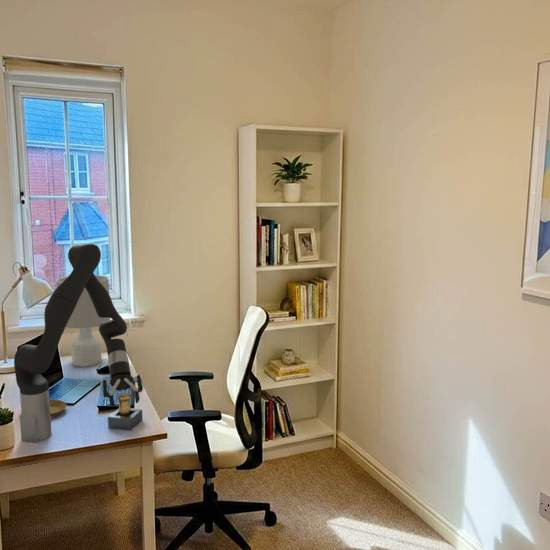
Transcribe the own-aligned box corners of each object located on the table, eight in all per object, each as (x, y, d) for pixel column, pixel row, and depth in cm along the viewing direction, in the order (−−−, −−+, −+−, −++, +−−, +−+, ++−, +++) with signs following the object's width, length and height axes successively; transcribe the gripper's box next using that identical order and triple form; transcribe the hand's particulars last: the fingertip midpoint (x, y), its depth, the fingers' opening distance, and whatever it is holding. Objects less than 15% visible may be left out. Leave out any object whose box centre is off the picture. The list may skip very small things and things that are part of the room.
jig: (130, 431, 195) (129, 419, 194) (108, 428, 197) (107, 416, 196) (142, 420, 204) (142, 409, 203) (121, 417, 206) (120, 406, 205)
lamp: (115, 353, 283) (112, 274, 275) (107, 369, 259) (103, 283, 252) (68, 355, 280) (63, 275, 273) (55, 371, 256) (49, 283, 249)
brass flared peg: (127, 427, 198) (126, 398, 196) (115, 425, 199) (114, 397, 197) (134, 421, 203) (133, 394, 201) (122, 420, 204) (121, 392, 202)
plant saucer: (56, 402, 220) (56, 396, 220) (73, 413, 210) (73, 406, 210) (19, 413, 210) (19, 407, 209) (35, 425, 200) (35, 418, 199)
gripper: (100, 363, 200) (106, 403, 192) (138, 358, 206) (146, 397, 198) (99, 372, 206) (104, 411, 198) (136, 367, 212) (143, 405, 204)
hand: (125, 404), depth 198 cm, fingers open, 8 cm apart
